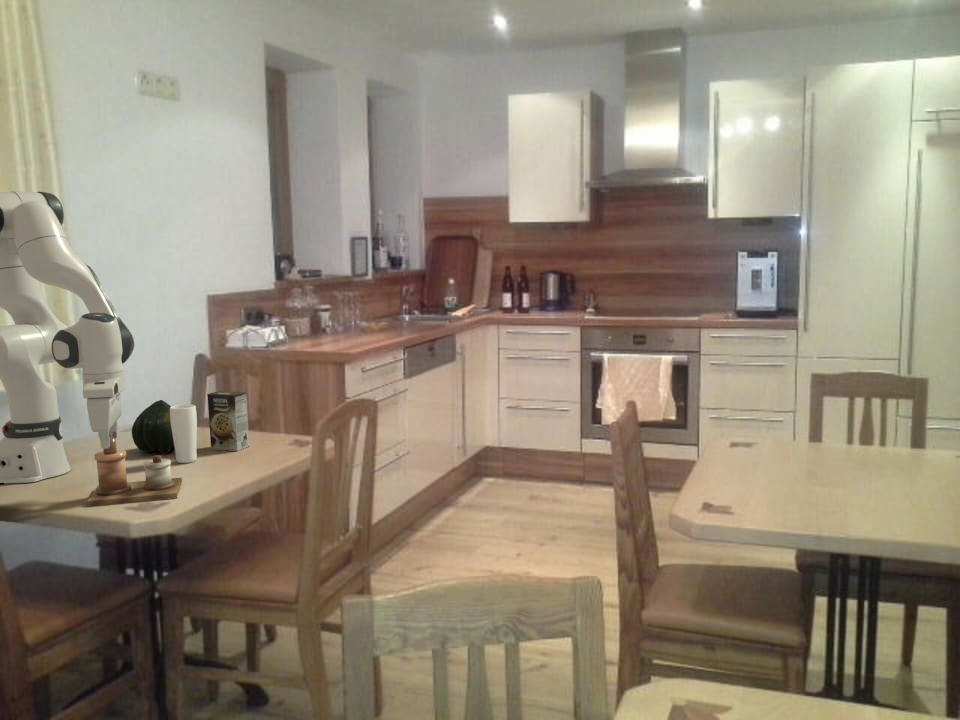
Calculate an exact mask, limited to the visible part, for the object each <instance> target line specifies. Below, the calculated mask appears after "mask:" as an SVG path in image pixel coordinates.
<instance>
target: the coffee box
mask: <svg viewBox="0 0 960 720" xmlns="http://www.w3.org/2000/svg"><path fill="white" fill-rule="evenodd" d="M206 396H207V406H208V410H207V411H208V422H209V425H208V426H209V438H210V439H209V440H210V450H213V451H226V450H229V451H230V452H239V451H242V450H244V449H246V447H247V448H249V447H250V437H249V421H248V420H249V419H248V417H249V416H248V414H249V413H248V399H247V398H248V397H247V396H248V395H247V392H246V391H234V390H233V391H230V390H229V391H226V390H219V391H214V392H213V391H212V392H211V393H210V392H209V393H208V394H207V395H206ZM248 446H249V447H248ZM243 448H244V449H243ZM241 449H242V450H241ZM229 451H228V452H229Z"/></svg>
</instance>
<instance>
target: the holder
mask: <svg viewBox="0 0 960 720" xmlns="http://www.w3.org/2000/svg"><path fill="white" fill-rule="evenodd" d="M142 465H143V468H144V475H145V476H144V477H145V480H139V481H130V482H129V481H128V480H127V478H128V477H127V468H126V457H124V458H122V459H118V460H112V461H97V460H96V467H97V479H98V480H97V481H98V485H97V486H96V487H95V489H94V490H93V492H92V493H91V495H90V496H89V497H88V499H87V501H86V504H87V507H96V506H97V507H98V506H106V505H105V504H109V505H116V504H115V503H119V504H125V503H124V502H130V503H136V502H135V501H141V502H148V501H147V500H151V501H158V500H157V499H162V500H169V499H168V498H173V499H177V498H178V497H179V494H178V493H180V490H181V487H182V484H183V478H182V477H174V478H173V477H172V473H171V472H172V471H171V465H172V461H171V459H169V458H162V456H161V454H160V455H159V454H158V455H153V456H152V459H151V460H147V461H145V462H143V463H142ZM181 483H182V484H181ZM180 486H181V487H180ZM177 496H178V497H177ZM176 497H177V498H176Z"/></svg>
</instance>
